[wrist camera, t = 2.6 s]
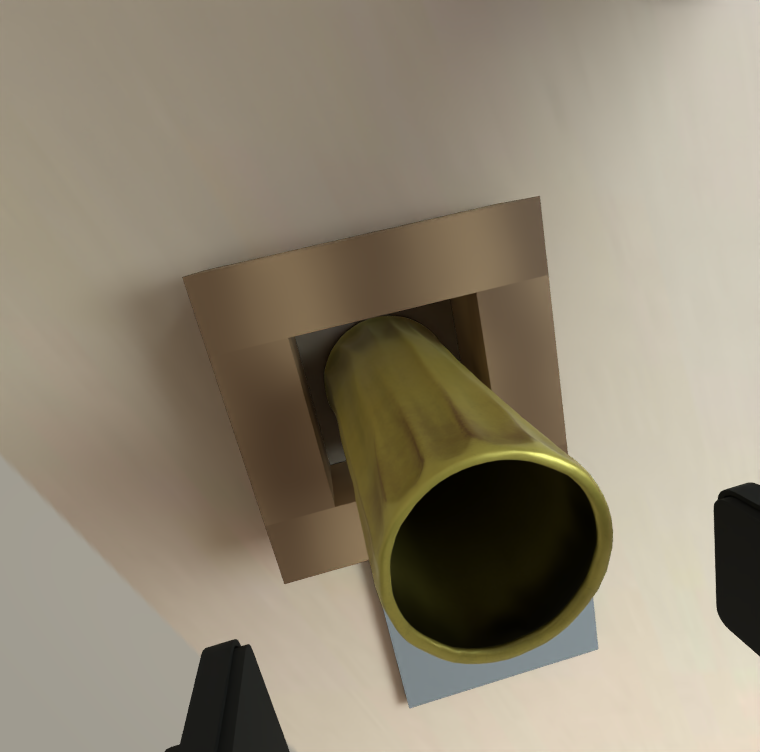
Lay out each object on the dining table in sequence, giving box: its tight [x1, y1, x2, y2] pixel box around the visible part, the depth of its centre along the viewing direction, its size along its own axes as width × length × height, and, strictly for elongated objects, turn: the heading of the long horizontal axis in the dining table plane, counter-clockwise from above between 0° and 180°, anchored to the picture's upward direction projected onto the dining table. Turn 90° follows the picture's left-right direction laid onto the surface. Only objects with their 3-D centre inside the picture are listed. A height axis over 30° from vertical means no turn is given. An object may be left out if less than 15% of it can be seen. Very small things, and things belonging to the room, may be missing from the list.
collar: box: [182, 196, 568, 584], centre depth 22 cm, size 14×14×4 cm
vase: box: [324, 316, 613, 664], centre depth 17 cm, size 6×6×14 cm
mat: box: [383, 598, 598, 708], centre depth 28 cm, size 12×12×1 cm
